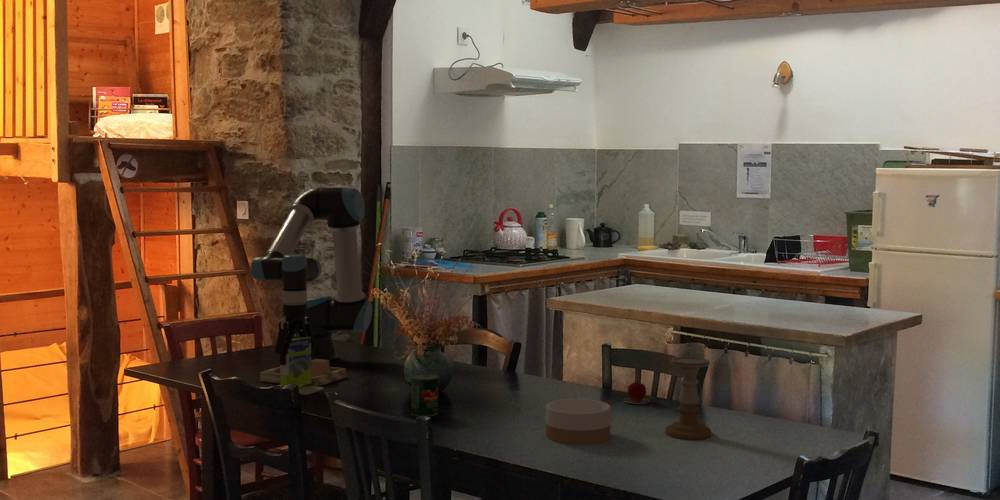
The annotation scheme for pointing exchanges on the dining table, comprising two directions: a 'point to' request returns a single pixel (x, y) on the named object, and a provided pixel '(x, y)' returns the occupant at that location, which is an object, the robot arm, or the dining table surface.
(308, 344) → the box
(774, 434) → the dining table surface
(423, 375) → the canned tomato
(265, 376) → the crate frame
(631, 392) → the apple
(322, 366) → the terracotta block
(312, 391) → the sage mat
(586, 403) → the brown round container
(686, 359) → the candle holder
